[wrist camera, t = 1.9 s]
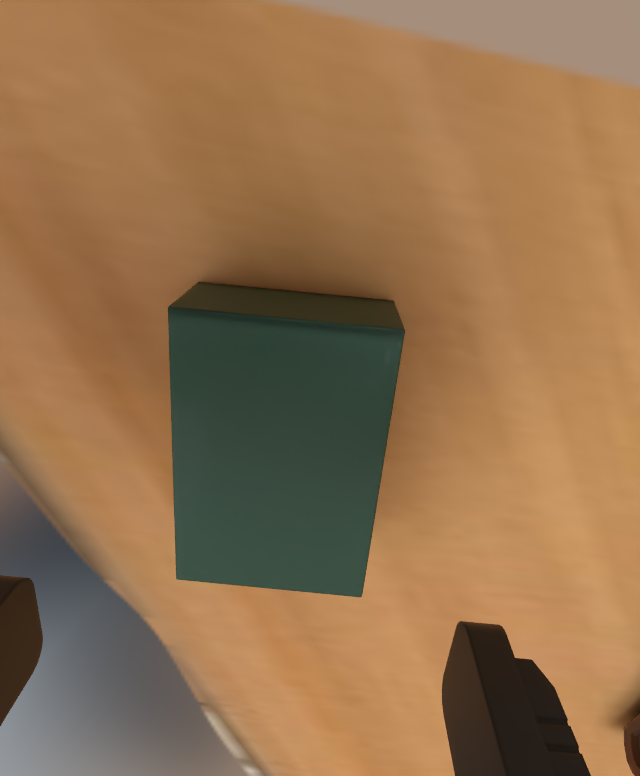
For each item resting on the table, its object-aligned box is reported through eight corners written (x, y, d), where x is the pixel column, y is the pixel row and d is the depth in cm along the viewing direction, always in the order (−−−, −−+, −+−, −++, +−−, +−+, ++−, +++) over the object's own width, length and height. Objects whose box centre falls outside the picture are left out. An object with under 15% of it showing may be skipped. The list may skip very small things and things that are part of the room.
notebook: (198, 281, 16) (167, 306, 13) (394, 300, 16) (405, 329, 13) (199, 520, 19) (175, 580, 16) (358, 536, 19) (362, 597, 16)
